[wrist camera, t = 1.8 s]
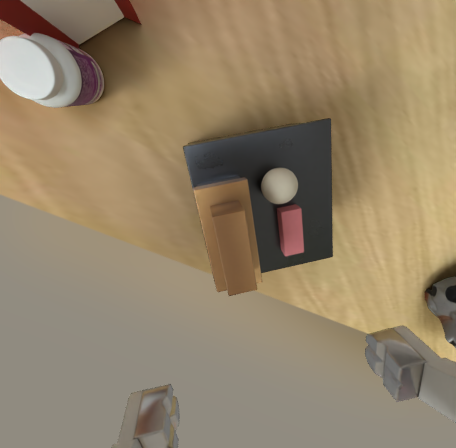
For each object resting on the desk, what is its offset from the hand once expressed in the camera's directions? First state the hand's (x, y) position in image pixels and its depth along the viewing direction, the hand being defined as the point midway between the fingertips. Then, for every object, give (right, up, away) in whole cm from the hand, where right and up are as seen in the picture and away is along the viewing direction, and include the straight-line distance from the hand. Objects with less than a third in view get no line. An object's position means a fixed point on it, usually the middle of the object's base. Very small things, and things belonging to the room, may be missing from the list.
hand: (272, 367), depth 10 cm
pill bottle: (-18, +22, +16) cm, 33 cm away
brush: (-2, +5, +14) cm, 15 cm away
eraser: (+4, +5, +15) cm, 17 cm away
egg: (+3, +10, +13) cm, 17 cm away
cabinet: (+1, +11, +23) cm, 26 cm away
